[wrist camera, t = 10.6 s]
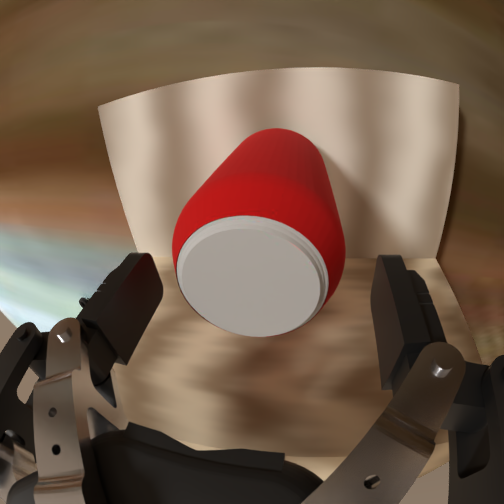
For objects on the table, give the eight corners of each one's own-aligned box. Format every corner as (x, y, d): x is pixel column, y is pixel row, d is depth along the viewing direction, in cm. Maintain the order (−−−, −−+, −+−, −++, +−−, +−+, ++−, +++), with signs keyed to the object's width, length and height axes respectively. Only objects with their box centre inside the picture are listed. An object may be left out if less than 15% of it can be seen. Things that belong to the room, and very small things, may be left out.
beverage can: (343, 164, 17) (394, 280, 7) (286, 227, 21) (269, 371, 11) (267, 107, 16) (213, 145, 6) (216, 179, 19) (131, 294, 10)
